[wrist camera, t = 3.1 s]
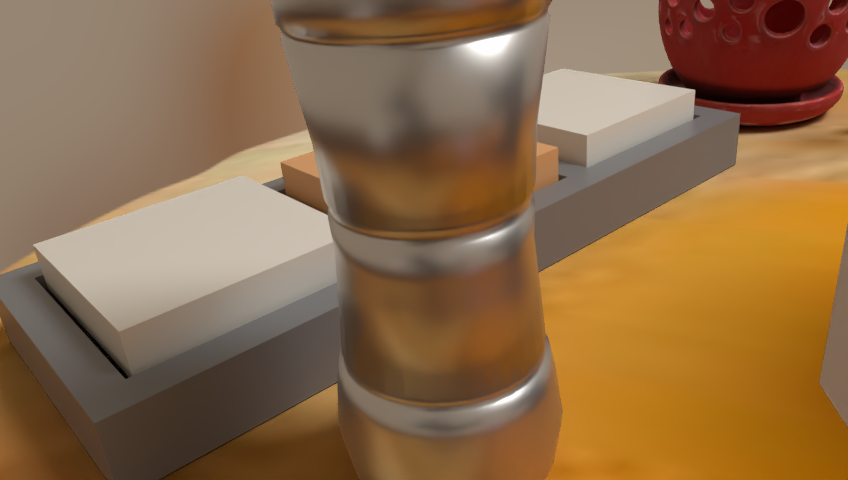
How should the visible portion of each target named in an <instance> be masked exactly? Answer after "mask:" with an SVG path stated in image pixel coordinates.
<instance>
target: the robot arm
mask: <svg viewBox="0 0 848 480" xmlns="http://www.w3.org/2000/svg"><path fill="white" fill-rule="evenodd" d="M819 384H820V385H821V387H822V388H823V390H824V391H825V393H826V395H827V396H828V398H829V399H830V401H831V402H832V404H833V405H834V407H835V408H836V410H837V412H838V413H839V415H840V416H841V418H842V419H843V421H844V422H845V424H846V426H847V427H848V225H847V231H846V236H845V242H844V248H843V253H842V259H841V264H840V270H839V276H838V281H837V287H836V292H835V298H834V304H833V309H832V315H831V320H830V326H829V332H828V337H827V343H826V348H825V354H824V360H823V365H822V371H821V376H820V382H819Z"/></svg>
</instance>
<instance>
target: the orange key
mask: <svg viewBox="0 0 848 480" xmlns="http://www.w3.org/2000/svg"><path fill="white" fill-rule="evenodd" d="M281 168H282V174H283V179H284V185H285V191H286V196H288V197H290V198H293V199H295V200H297V201H299V202H301V203H303V204H305V205H308V206H310V207H312V208H314V209H316V210H318V211H320V212H323V213H325V214H327V215H328V208H329V207H328V205H327V204H326V202H325V200H324V197H323V193H322V188H321V183H320V178H319V173H318V169H317V164H316V159H315V154H314V151H313V152H310V153H307V154H304V155H301V156H298V157H295V158H292V159H289V160H286V161H283V162H281ZM555 182H558V147H555V146H551V145H547V144H543V143H539V142H537V155H536V183H535V186H534V190H533V191H532V192H533V193H534V192H536V191H538V190H540V189H542V188H544V187H547V186H549V185H551V184H553V183H555Z"/></svg>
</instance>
